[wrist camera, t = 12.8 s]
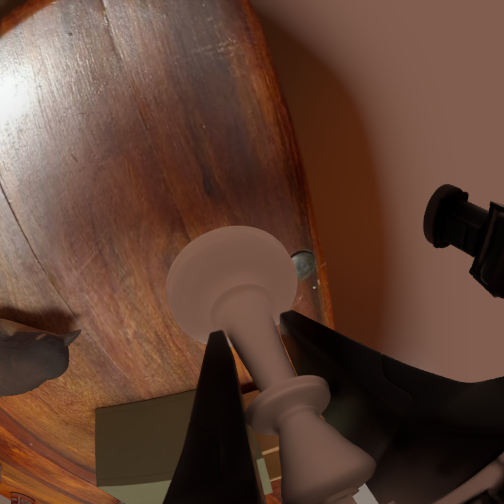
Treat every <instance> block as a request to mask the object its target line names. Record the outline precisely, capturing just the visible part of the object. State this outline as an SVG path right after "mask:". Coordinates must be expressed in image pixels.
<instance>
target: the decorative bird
mask: <svg viewBox="0 0 504 504" xmlns="http://www.w3.org/2000/svg"><path fill="white" fill-rule="evenodd" d="M80 333H81V329H80V330H77V331H74V332H71V333H66V334H55V333H52V332H49V331H45V330H41V329H35V328H33V327H30V326H26V325H23V324H20V323H16V322H13V321H10V320H6V319H0V397H2V396H13V395H18V394H23V393H26V392H28V391H32V390H33V389H35V388H38V387H39V386H40V385H41V384H42V383H43V382H45V381H46V380H51V379H54V378H57V377H59V376H60V375H62V374H63V373H64V372H65V371H66V370H67V368H68V365H69V349H68V346H69V345H70V344H71V343H72V342H73V341H74V340H75V338H76V337H77V336H78V335H79V334H80Z"/></svg>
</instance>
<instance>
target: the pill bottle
mask: <svg viewBox="0 0 504 504" xmlns="http://www.w3.org/2000/svg"><path fill="white" fill-rule="evenodd" d="M11 504H35V501H34V500H33V499H31V498H29V497H27V496H25V495H22V494H19V493H12V494H11Z"/></svg>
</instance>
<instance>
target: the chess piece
mask: <svg viewBox="0 0 504 504" xmlns="http://www.w3.org/2000/svg"><path fill="white" fill-rule="evenodd" d="M296 292H297V272H296V269H295V266H294V263H293V261H292V259H291V258H290V256H289V254H288V252H287V250H286V249H285V247H284V246H283V245H282V244H281V243H280V242H279V241H278V240H277V239H276V238H275V237H274V236H272V235H271V234H269V233H267V232H265V231H263V230H260V229H257V228H254V227H248V226H227V227H222V228H218V229H215V230H212V231H209V232H207V233H205V234H203V235H201V236H199V237H197V238H196V239H194V240H193V241H192V242H190V243H189V244H188V245H187V246H186V247H185V248H184V249H183V250H182V251H181V252H180V253H179V254H178V256H177V257H176V259H175V260H174V262H173V264H172V266H171V268H170V270H169V273H168V276H167V281H166V298H167V302H168V305H169V308H170V311H171V314H172V316H173V318H174V320H175V322H176V324H177V325H178V326H179V328H180V329H181V330H182V331H183V332H184V333H185V334H187V335H188V336H189V337H191V338H192V339H194V340H196V341H198V342H201V343H203V344H206V345H207V342H208V337H209V334H210V333H211V332H214V331H218V330H223V331H224V333H225V336H226V338H227V341H228V343H229V346H230V347H234V349H235V350H236V352H237V354H238V355H239V357H240V359H241V360H242V362H243V364H244V366H245V367H246V369H247V370H248V372H249V374H250V376H251V377H252V379H253V381H254V383H255V385H256V387H257V388H258V390H259V392H260V394H259V395H258V396H257V397H255V398H254V399H253V401H252V402H251V403H250V404H249V406H248V407H247V409H246V412H245V416H246V420H247V424H248V425H249V426H250V427H251V428H252V430H253V431H255V432H256V433H258V434H261V435H267V436H274V435H279V457H280V463H281V497H282V503H283V504H357V503H356V502H355V500H354V498H353V497H352V496H353V495H355V494H356V493H357V492H358V491H359V489H358V488H359V487H361V486H362V485H363V484H364V483H366V482H367V481H368V480H369V479H370V478H371V477H372V475H373V474H374V472H375V469H376V461H375V460H374V459H373V458H372V457H371V456H370V455H369V454H368V453H366V452H365V451H364V450H362V449H361V448H360V447H358V446H356V445H354V444H353V443H351V442H350V441H349V440H347V439H346V438H345V437H343V436H342V435H341V434H340V433H339V432H338V431H337V430H336V429H335V428H334V427H333V426H331V425H330V424H328V423H327V422H325V421H324V420H323V419H321V418H320V417H319V415H320V414H322V412H323V411H324V410H325V409H326V408H327V406H328V404H329V402H330V399H331V393H330V391H329V385H328V383H327V381H326V380H325V379H323V378H321V377H319V376H314V375H304V376H297V377H296V376H295V373H294V371H293V368H292V366H291V363H290V361H289V359H288V357H287V354H286V351H285V349H284V346H283V344H282V341H281V338H280V335H279V333H278V330H277V327H276V326H278V325H279V324H280V320H279V316H280V314H281V313H283V312H286V311H289V310H290V309H291V307H292V305H293V302H294V300H295V296H296ZM388 504H395V503H394V501H392V502H390V503H388Z"/></svg>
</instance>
